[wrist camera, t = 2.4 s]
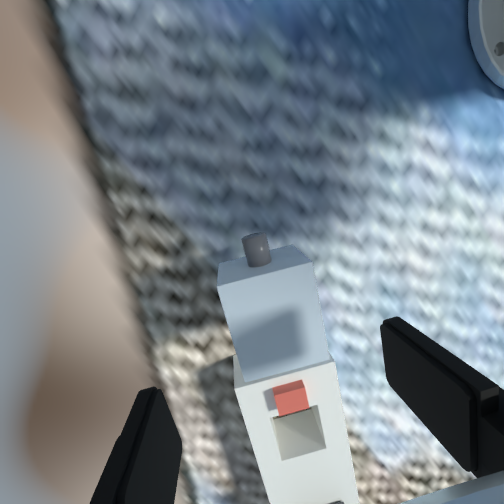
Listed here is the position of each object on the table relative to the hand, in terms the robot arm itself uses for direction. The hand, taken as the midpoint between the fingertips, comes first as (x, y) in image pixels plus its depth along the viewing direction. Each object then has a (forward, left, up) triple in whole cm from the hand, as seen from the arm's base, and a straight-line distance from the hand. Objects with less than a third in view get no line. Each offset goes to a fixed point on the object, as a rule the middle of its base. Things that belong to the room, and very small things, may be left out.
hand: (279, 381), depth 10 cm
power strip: (+19, +1, -12) cm, 22 cm away
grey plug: (0, +1, -12) cm, 12 cm away
